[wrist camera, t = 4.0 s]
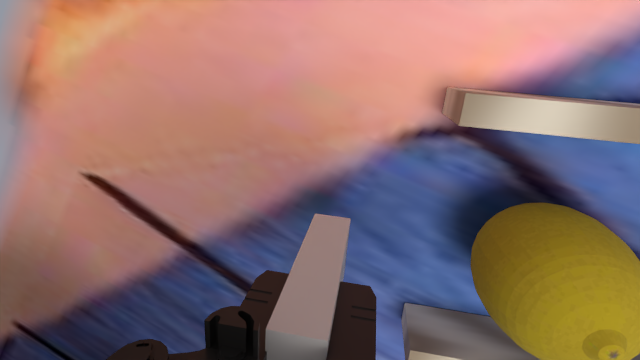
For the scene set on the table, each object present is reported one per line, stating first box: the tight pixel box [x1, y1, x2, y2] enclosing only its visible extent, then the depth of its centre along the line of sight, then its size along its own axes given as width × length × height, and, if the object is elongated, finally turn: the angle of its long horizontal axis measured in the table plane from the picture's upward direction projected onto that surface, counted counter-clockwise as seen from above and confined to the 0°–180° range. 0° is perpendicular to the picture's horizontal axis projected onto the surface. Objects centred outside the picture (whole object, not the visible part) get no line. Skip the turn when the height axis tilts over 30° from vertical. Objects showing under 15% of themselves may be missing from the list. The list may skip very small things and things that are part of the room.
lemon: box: [471, 203, 640, 360], centre depth 14 cm, size 6×6×8 cm
